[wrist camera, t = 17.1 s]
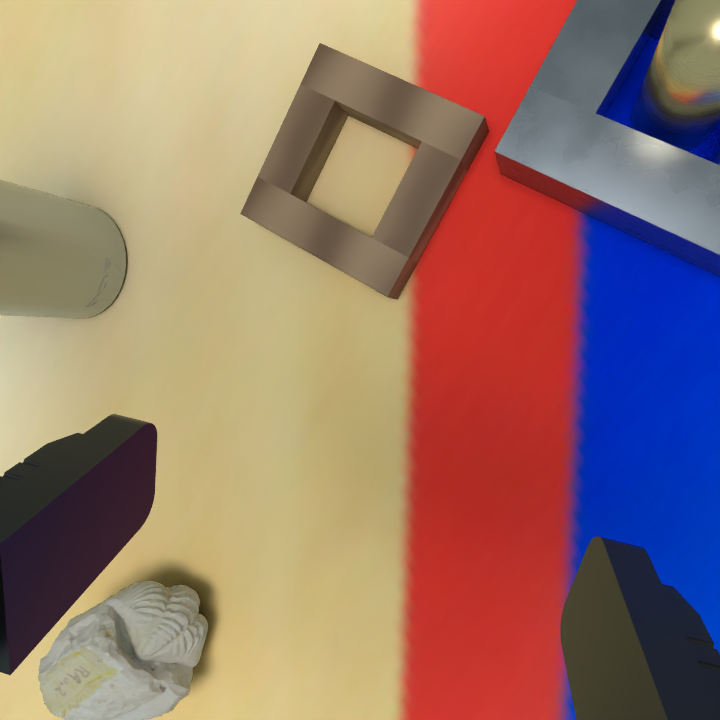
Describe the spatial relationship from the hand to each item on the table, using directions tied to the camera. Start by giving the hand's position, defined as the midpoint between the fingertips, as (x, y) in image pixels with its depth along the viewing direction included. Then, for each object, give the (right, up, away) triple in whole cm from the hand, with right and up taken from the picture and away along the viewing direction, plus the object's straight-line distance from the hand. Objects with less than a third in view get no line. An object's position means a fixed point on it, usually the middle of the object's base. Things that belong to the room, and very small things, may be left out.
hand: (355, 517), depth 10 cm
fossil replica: (-16, -19, +35) cm, 42 cm away
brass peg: (+18, +17, +22) cm, 33 cm away
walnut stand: (0, +15, +28) cm, 31 cm away
